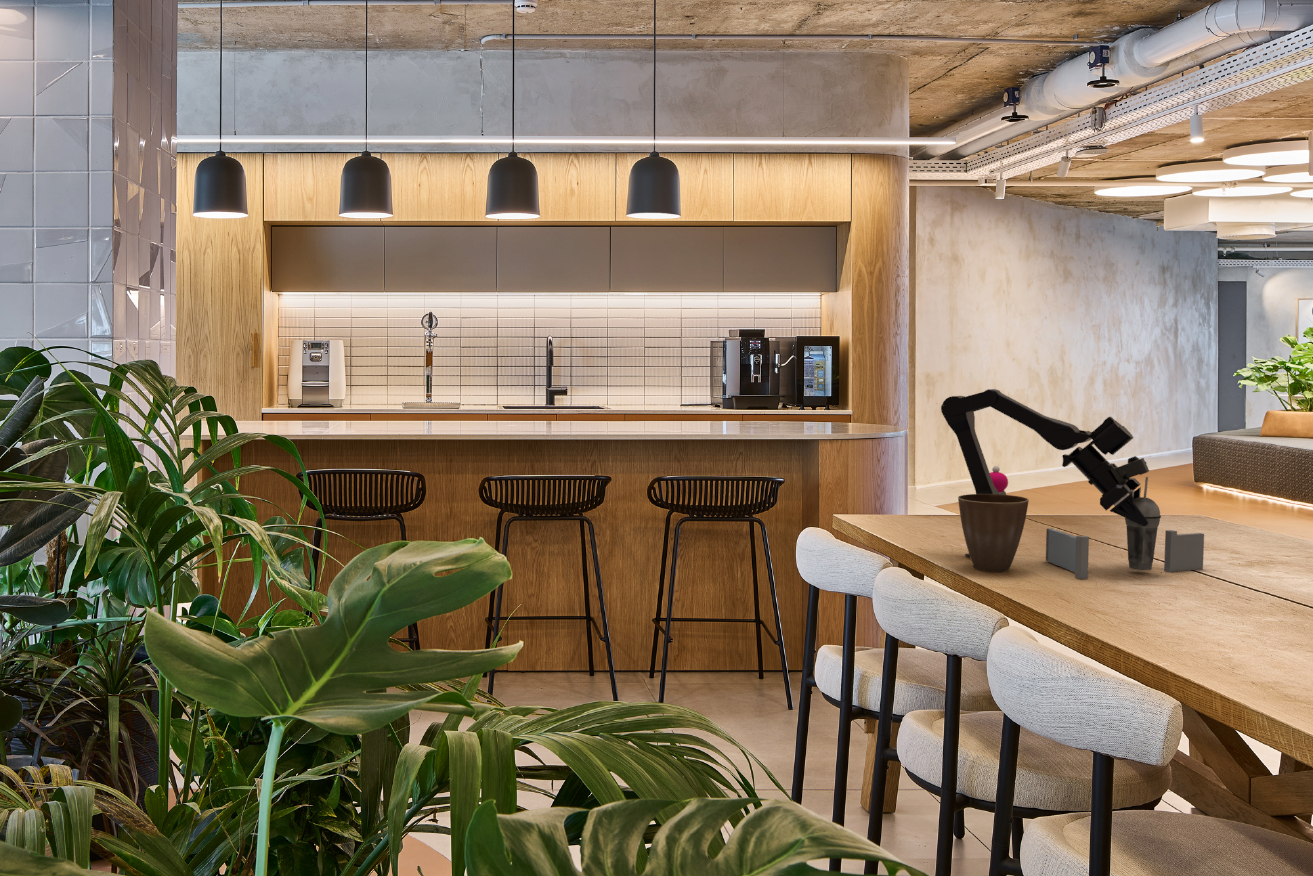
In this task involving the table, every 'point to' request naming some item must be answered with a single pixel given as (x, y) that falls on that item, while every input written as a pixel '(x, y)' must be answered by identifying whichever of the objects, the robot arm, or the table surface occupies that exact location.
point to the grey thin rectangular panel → (1061, 549)
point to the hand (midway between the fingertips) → (1149, 522)
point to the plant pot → (992, 528)
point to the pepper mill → (999, 479)
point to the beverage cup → (1143, 534)
